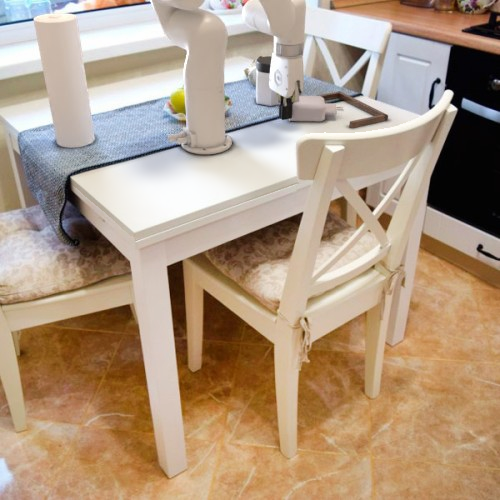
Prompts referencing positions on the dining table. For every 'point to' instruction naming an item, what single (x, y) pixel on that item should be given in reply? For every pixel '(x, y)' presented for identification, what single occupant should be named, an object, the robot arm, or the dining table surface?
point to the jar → (264, 83)
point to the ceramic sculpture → (252, 73)
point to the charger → (312, 109)
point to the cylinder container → (65, 78)
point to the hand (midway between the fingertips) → (285, 118)
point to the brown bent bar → (377, 114)
